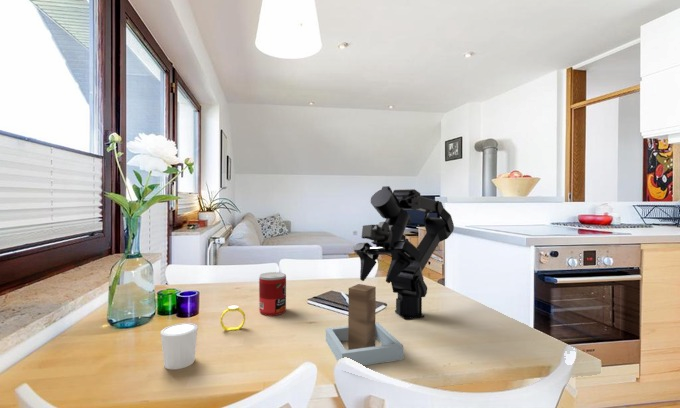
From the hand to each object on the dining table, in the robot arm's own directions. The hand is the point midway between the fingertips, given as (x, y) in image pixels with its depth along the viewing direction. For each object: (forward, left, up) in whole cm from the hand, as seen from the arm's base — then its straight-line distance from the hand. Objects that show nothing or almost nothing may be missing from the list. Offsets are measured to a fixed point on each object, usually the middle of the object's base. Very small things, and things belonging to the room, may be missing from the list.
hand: (374, 281), depth 82 cm
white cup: (+44, +2, -13) cm, 46 cm away
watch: (+34, -13, -13) cm, 39 cm away
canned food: (+23, -24, -13) cm, 36 cm away
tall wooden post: (+6, +7, -13) cm, 16 cm away
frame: (+6, +7, -13) cm, 16 cm away
